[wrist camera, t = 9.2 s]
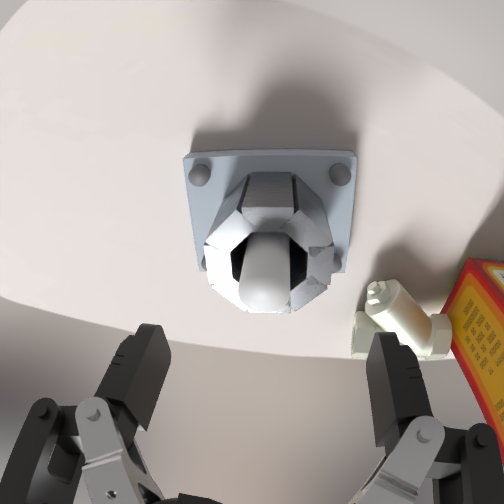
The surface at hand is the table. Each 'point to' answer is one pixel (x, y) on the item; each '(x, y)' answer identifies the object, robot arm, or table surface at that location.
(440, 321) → the pipe fitting
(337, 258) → the mounting base with peg
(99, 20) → the table surface
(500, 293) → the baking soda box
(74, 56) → the table surface
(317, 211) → the hub
